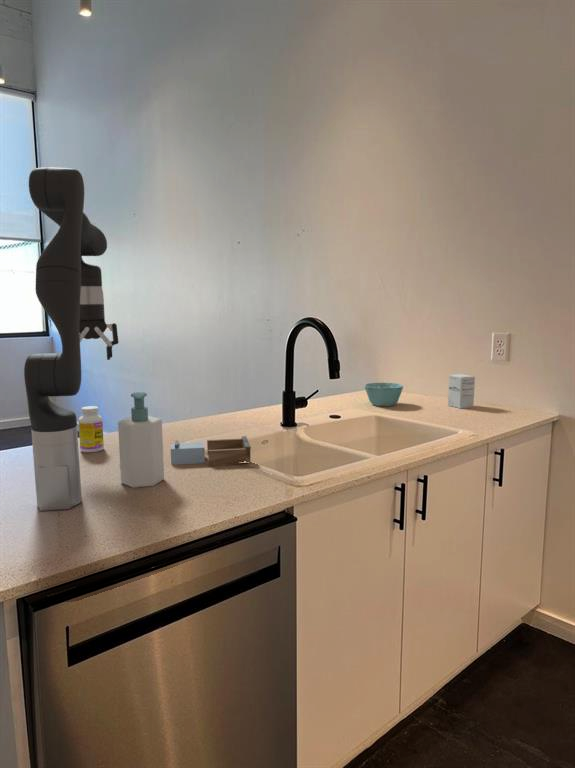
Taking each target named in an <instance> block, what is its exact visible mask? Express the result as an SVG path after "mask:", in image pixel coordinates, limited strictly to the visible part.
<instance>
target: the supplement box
mask: <svg viewBox="0 0 575 768" xmlns="http://www.w3.org/2000/svg"><path fill="white" fill-rule="evenodd" d="M448 377H449V378H448V394H447V395H448V396H447V406H450V407H454V408H457V409H468V408H474V404H475V403H474V402H475V401H474V399H475V385H476V383H475V381H476V376H474V375H470V374H469V375H468V374H464V373H458V374H449V375H448Z"/></svg>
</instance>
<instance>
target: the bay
mask: <svg viewBox="0 0 575 768" xmlns="http://www.w3.org/2000/svg"><path fill="white" fill-rule="evenodd" d="M206 442H207V443H206V444H207V447H206V448H207V450H206V451H207V455H208V467H209V466H227V465H229V466H230V465H239V464H238V463H239V462H244V461H246V462H250V463H249V464H251V448H252V447H251V445H250V442H249V440H248V437H247V436H246V435H245V436H241V438H223V439H222V438H221V439H219V438H218V439H207V440H206Z"/></svg>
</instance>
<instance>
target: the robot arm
mask: <svg viewBox="0 0 575 768" xmlns="http://www.w3.org/2000/svg"><path fill="white" fill-rule="evenodd" d="M28 191H29V195H30V199H31V201H32V203H33V204H34V206H35V207H36V208H37V209H38V210H39V211H40V212H42V213H43V214H44V215H45V216H47V217H48V218H49V219H50V220H52V221H53V222H54V223H56V224H57V225H58V226H59V229H58V231H57V232H56V234H55V235H54V236H53V238H52V239H51V240H50V242H49V243H48V244H47V246H46V247H45V248H44V249H43V251H42V252H41V253H40V256H39V257H38V259H37V261H36V265H35V294H36V297H37V299H38V302H39V304H40V305H41V306H42V308H43V310H44V311H45V312H46V314H47V315H48V317H49V319H50V320H51V322H52V323H53V324H54V327H55V328H56V331H58V334H59V338H60V342H61V349H62V350H61V351H62V352H60V353H59V352H57V353H53V352H52V353H32V354H30V355H28V356H27V358H26V359H25V362H24V367H23V373H24V374H23V377H24V378H23V379H24V386H25V392H26V398H27V406H28V415H29V416H28V417H29V421H30V428H31V440H32V441H31V442H32V443H31V444H32V453H33V455H32V457H33V467H34V468H33V470H34V480H35V481H34V483H35V493H36V494H35V495H36V506H37V507H38V508H39V511H42V512H43V511H44V512H45V511H58V510H59V511H61V510H70V509H71V508H72V507H75V506H77V505H79V504H80V503H81V502H82V501H83V500H82V499H83V497H82V482H81V466H80V454H79V453H80V451H79V450H80V449H79V439H78V438H79V434H78V433H79V432H78V420H77V415H76V413H75V412H74V411H72V410H69V409H67V408H64V407H61V406H58V405H57V404H55V403H54V402H53V401H52V400H51V399H50V397H72V396H76V395H77V394H78V393H79V392H80V390H81V385H82V384H81V383H82V356H81V342H82V340H83V339H85V340H91V339H93V340H97V339H100V338H101V340H102V341H103V342H104V343H105V344H106V346H105V347H106V360H108V361H110V360H111V358H113V346H115V345H118V344H119V336H118V326H117V324H116V323H115V322H112V323H106V318H105V316H106V315H105V299H104V298H105V297H104V290H103V277H102V269H101V266H98V265H94V264H91V263H87V262H85V261H84V259H83V257H99V256H100V257H101V256H103V255H104V254H105V253H106V251H107V248H108V241H107V237H106V236H105V234H104V232H103V231H102V230H101V229H100V228H99V227H98V226H96V225H94V224H93V223H91V221H90V219H89V218H88V216H87V215H86V213H84V209H85V208H84V207H85V183H84V178H83V175H82V173H81V172H80V171H79V170H77V169H76V168H72V167H71V168H69V167H36V168H34V169H32V170H31V171H30V173H29V176H28ZM107 328H108V329H109V331H110V332H111V334H112V335H111V336H112V340H111V341H110V340H109V338H108V337H107V336H106V335H105V334H104V333H105V331H106V330H107Z"/></svg>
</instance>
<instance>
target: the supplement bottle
mask: <svg viewBox="0 0 575 768" xmlns="http://www.w3.org/2000/svg"><path fill="white" fill-rule="evenodd" d="M81 414H82V415H80V416H79V418H78V433H79V434H78V438H79V448H80V449H79V450H80V451H81V452H82V453H87V454H88V453H97V452H100V451H102V450H104V448H105V447H104V445H105V444H104V425H103V422H104V421H103V417H102V416H101V415H100V414H99V407H98V406H96V405H89V406H88V405H87V406H83V407H81Z"/></svg>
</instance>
